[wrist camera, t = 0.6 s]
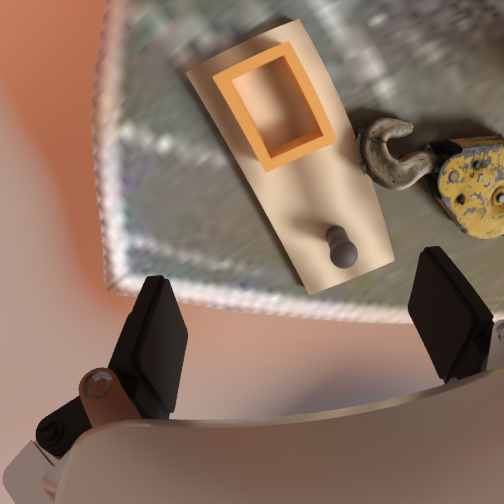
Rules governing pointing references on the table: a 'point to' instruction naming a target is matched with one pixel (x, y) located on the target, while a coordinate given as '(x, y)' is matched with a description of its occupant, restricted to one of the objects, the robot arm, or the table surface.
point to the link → (241, 113)
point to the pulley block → (442, 173)
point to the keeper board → (301, 162)
